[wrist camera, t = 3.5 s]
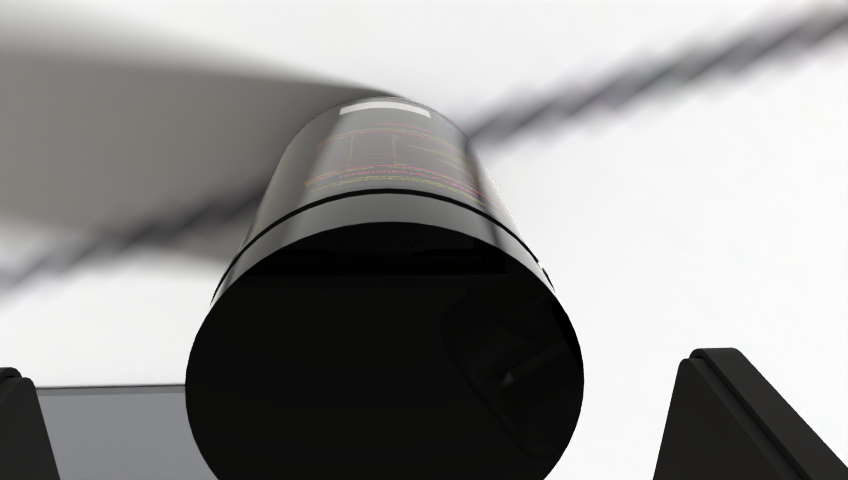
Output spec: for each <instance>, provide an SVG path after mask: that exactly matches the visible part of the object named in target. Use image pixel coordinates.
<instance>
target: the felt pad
mask: <svg viewBox="0 0 848 480" xmlns="http://www.w3.org/2000/svg"><path fill="white" fill-rule="evenodd" d="M36 393H37V396H38V400H39V404H40V407H41V411H42V414H43V418H44V422H45V425H46V429H47V433H48V436H49V440H50V443H51V447H52V451H53V454H54V458H55V462H56V465H57V469H58V472H59V476H60V480H218V479H217V478H216V476H215V475H214V474H213V472H212V471H211V470H210V468H209V467H208V465H207V464H206V462H205V460H204V459H203V457H202V455H201V453H200V451H199V449H198V447H197V445H196V442H195V440H194V438H193V435H192V431H191V428H190V425H189V421H188V416H187V410H186V402H185V386H162V387H119V388H76V389H36Z"/></svg>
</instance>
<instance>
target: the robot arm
mask: <svg viewBox="0 0 848 480" xmlns="http://www.w3.org/2000/svg"><path fill="white" fill-rule="evenodd" d="M0 480H60V476H59V472H58V469H57V465H56V462H55V458H54V454H53V451H52V447H51V443H50V440H49V436H48V433H47V429H46V425H45V422H44V418H43V414H42V411H41V407H40V404H39V400H38V396H37V393H36V389H35V386H34V383H33V381H32V380H31V379H30V378H26V377H24V378H22V376H21V374H20V372H19V371H18V370H17V369H15V368H12V367H3V368H0ZM653 480H848V467H847V466H846V465H845V464H844V463H843V462H842V461H841V460H840V459H839V458H838V457H837V456H836V454H835V453H834V452H833V451H832V450H831V449H830V448H829V447H828V446H827V445H826V444H825V443H824V442H823V440H822V439H821V438H820V437H819V436H818V435H817V434H816V433H815V432H814V431H813V430H812V429H811V427H810V426H809V425H808V424H807V423H806V422H805V421H804V420H803V419H802V418H801V417H800V416H799V414H798V413H797V412H796V411H795V410H794V409H793V408H792V407H791V406H790V405H789V404H788V403H787V401H786V400H785V399H784V398H783V397H782V396H781V395H780V394H779V393H778V392H777V391H776V390H775V389H774V387H773V386H772V385H771V384H770V383H769V382H768V381H767V380H766V379H765V378H764V377H763V376H762V374H761V373H760V372H759V371H758V370H757V369H756V368H755V367H754V366H753V365H752V364H751V363H750V361H749V360H748V359H747V358H746V357H745V356H744V355H743V354H742V353H741V352H740V351H739V350H737V349H735V348H700V349H695V350H693V352H692V353H691V354H690V357H689V358H688V359H683V360H682V361H681V362H680V364H679V367H678V371H677V376H676V380H675V385H674V389H673V393H672V398H671V402H670V407H669V411H668V415H667V420H666V424H665V429H664V433H663V437H662V442H661V446H660V451H659V455H658V459H657V464H656V468H655V473H654V477H653Z"/></svg>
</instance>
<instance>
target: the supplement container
mask: <svg viewBox="0 0 848 480" xmlns="http://www.w3.org/2000/svg"><path fill="white" fill-rule="evenodd" d="M583 391H584V369H583V360H582V355H581V349H580V345H579V342H578V339H577V336H576V333H575V330H574V328H573V326H572V324H571V322H570V319H569V317H568V315H567V313H566V311H565V310H564V308H563V306H562V304H561V302H560V300H559V299H558V297H557V295H556V293H555V290H554V288H553V286H552V283H551V281H550V279H549V277H548V275H547V273H546V271H545V269H544V268H543V266H542V265H541V263H540V261H539V260H538V258H537V256H536V255H535V254H534V253H533V251H532V250H531V249H530V248H529V246H528V245H527V243H526V241H525V239H524V238H523V236H522V234H521V232H520V230H519V228H518V226H517V225H516V223H515V221H514V219H513V217H512V215H511V213H510V212H509V210H508V208H507V206H506V204H505V202H504V200H503V199H502V197H501V195H500V193H499V191H498V189H497V188H496V186H495V184H494V182H493V180H492V178H491V176H490V175H489V173H488V171H487V169H486V167H485V165H484V163H483V162H482V160H481V158H480V156H479V154H478V152H477V151H476V149H475V147H474V146H473V144H472V143H471V141H470V140H469V139H468V137H467V136H466V135H465V134H464V133H463V132H462V131H461V129H460V128H459V127H458V126H457V125H455V124H454V123H453V122H452V121H451V120H449V119H448V118H447V117H445V116H444V115H442V114H441V113H439V112H437V111H435V110H434V109H432V108H430V107H428V106H425V105H423V104H420V103H418V102H414V101H411V100H407V99H402V98H396V97H383V96H382V97H366V98H359V99H355V100H351V101H347V102H344V103H342V104H339V105H336V106H334V107H332V108H330V109H328V110H326V111H324V112H323V113H321V114H319V115H318V116H316V117H315V118H314V119H312V120H311V121H310V122H309V123H307V124H306V125H305V126H304V127H303V128H302V129H301V130H300V131H299V132H298V133H297V134H296V136H295V137H294V138H293V139H292V141H291V142H290V144H289V145H288V147H287V148H286V150H285V152H284V154H283V156H282V158H281V160H280V162H279V164H278V166H277V168H276V170H275V173H274V175H273V177H272V179H271V181H270V183H269V185H268V188H267V190H266V192H265V194H264V196H263V198H262V200H261V203H260V205H259V207H258V209H257V211H256V213H255V215H254V218H253V220H252V222H251V224H250V226H249V228H248V230H247V233H246V235H245V237H244V239H243V241H242V243H241V245H240V248H239V250H238V252H237V254H236V256H235V257H234V258H233V260H232V261H231V263H230V264H229V266H228V267H227V269H226V271H225V272H224V274H223V276H222V278H221V280H220V282H219V284H218V286H217V288H216V290H215V293H214V296H213V298H212V301H211V304H210V307H209V309H208V312H207V314H206V316H205V318H204V320H203V322H202V324H201V326H200V328H199V331H198V333H197V335H196V338H195V340H194V343H193V346H192V349H191V352H190V356H189V360H188V365H187V369H186V380H185V402H186V410H187V416H188V421H189V425H190V428H191V431H192V435H193V438H194V440H195V442H196V445H197V447H198V449H199V451H200V453H201V455H202V457H203V459H204V460H205V462H206V464H207V465H208V467H209V468H210V470H211V471H212V472H213V474H214V475H215V476H216V478H217V479H218V480H544V479H545V478H546V477H547V475H548V474H549V473H550V472H551V471H552V469H553V468H554V466H555V465H556V464H557V462H558V461H559V460H560V458H561V456H562V455H563V453H564V451H565V449H566V448H567V446H568V444H569V442H570V440H571V437H572V435H573V433H574V431H575V428H576V425H577V422H578V418H579V415H580V411H581V406H582V400H583Z"/></svg>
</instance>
